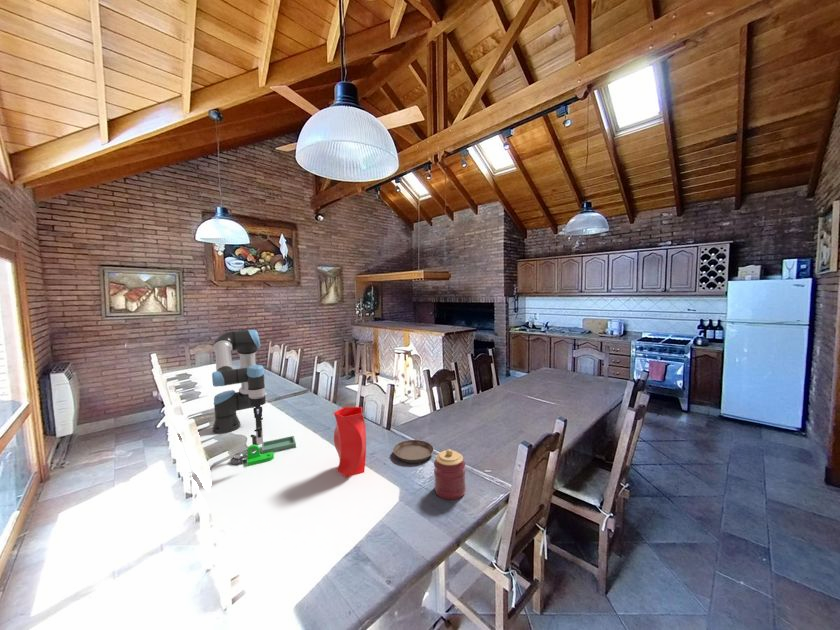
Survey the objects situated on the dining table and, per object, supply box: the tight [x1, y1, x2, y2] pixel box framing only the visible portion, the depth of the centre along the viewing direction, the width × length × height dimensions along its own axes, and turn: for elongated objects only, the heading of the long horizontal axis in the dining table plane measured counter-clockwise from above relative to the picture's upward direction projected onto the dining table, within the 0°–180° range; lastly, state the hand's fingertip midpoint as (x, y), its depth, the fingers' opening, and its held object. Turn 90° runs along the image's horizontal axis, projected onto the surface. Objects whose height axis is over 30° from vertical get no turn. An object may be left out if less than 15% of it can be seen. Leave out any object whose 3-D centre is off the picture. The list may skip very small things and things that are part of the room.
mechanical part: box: [246, 444, 275, 467], centre depth 164 cm, size 12×6×8 cm, turn 117°
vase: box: [333, 406, 367, 478], centre depth 152 cm, size 15×14×28 cm
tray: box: [261, 435, 297, 454], centre depth 178 cm, size 11×17×2 cm, turn 117°
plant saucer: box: [392, 439, 435, 464], centre depth 166 cm, size 21×21×3 cm
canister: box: [433, 448, 467, 500], centre depth 134 cm, size 13×13×18 cm
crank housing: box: [229, 455, 248, 466], centre depth 164 cm, size 8×8×1 cm
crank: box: [233, 434, 258, 460], centre depth 168 cm, size 12×5×8 cm, turn 152°
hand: (259, 438), depth 163 cm, fingers open, 13 cm apart
